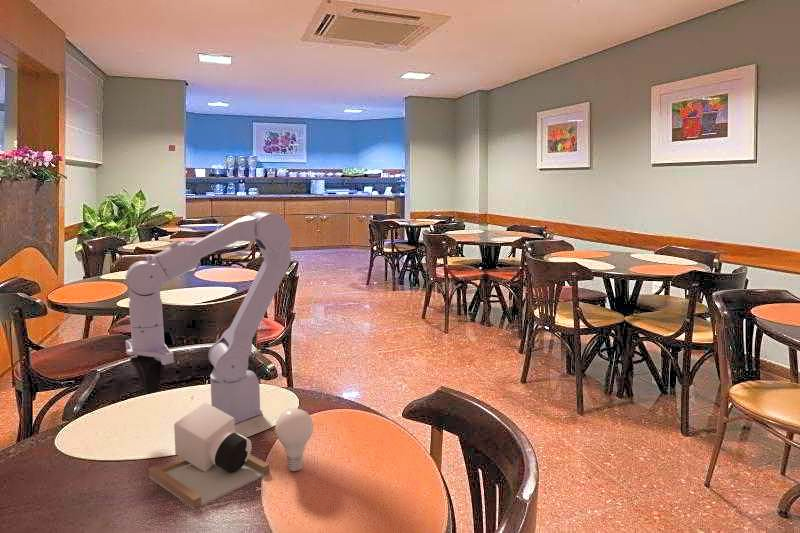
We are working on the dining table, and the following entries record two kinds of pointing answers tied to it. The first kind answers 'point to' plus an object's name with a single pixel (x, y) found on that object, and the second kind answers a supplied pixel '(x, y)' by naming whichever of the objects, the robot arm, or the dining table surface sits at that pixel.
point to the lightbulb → (294, 435)
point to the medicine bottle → (210, 440)
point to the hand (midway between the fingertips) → (151, 391)
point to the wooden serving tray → (205, 480)
